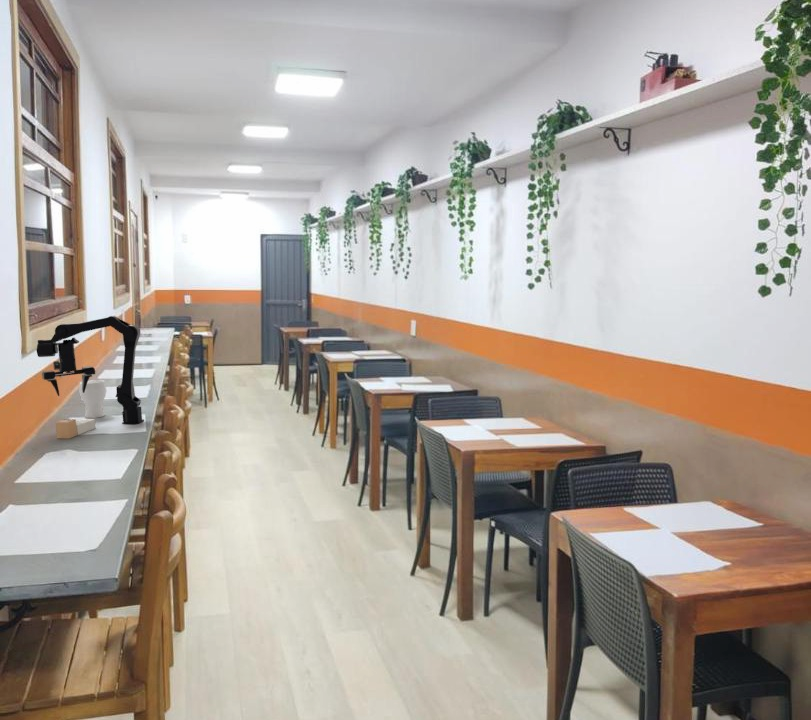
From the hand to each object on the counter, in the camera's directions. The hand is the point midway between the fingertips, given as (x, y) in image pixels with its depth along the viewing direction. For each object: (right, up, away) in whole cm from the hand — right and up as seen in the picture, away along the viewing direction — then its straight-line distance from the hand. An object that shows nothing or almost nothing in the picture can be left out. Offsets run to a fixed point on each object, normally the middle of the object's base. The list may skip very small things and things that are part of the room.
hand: (71, 394), depth 297 cm
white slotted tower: (+7, -14, -8) cm, 18 cm away
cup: (+1, -11, +21) cm, 24 cm away
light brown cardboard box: (+6, -15, -17) cm, 23 cm away
